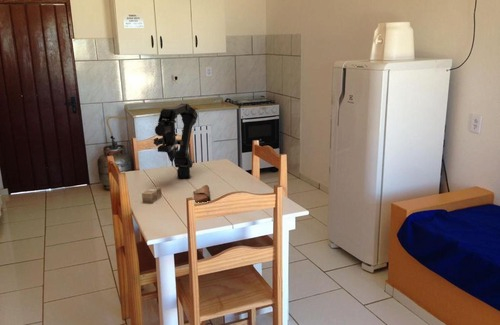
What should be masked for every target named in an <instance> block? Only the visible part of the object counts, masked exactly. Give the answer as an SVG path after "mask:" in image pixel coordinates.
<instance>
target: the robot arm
mask: <svg viewBox="0 0 500 325" xmlns="http://www.w3.org/2000/svg"><path fill="white" fill-rule="evenodd" d="M179 115H180V117H181V121H182V124H183V128H182V133H181V137H180V138H181V139H178V138H176V137H177V136H178V134H177V133H176V123H177V120H176V119H177V118H178V116H179ZM198 118H199V115H198V112H197V111H196V109H194V108H193V107H191V105H190V104H189V103H180V104H178V105H176V106H174V107H167V108H162V109H161V110H160V113H159V117H158V120H157V125H156V126H155V128H154V133H155V134H156V135H157V136H158V137H160V138H158V137H156V138H153V145H155V146H156V147H157V152H160V153H166V154H167V157H168V159H169V161H170V162H173V163H174V167H175V168H177V170H176V174H177V179H179V180H182V179H183V180H185V179H187V180H188V179H191V168H193V164H194V163H193V161H192V160H191V155H190V152H189V148H190V141H191V135H192V131H193V126H194V125H195V124H196V123H197V120H198ZM176 145H179V147H177V146H176Z"/></svg>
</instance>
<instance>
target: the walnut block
mask: <svg viewBox="0 0 500 325" xmlns="http://www.w3.org/2000/svg"><path fill="white" fill-rule="evenodd" d="M161 198H162V187H158V186H157V187H156V186H151V187H149V188H148V189H147V190H145V191H143V192H142V193H141V199H142V203H143V204H151V205H152V204H154V203H155V202H157V201H158V200H160V199H161Z"/></svg>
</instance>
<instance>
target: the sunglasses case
mask: <svg viewBox="0 0 500 325" xmlns="http://www.w3.org/2000/svg"><path fill="white" fill-rule="evenodd" d="M193 200H195V202H196V203H195V204H202V202H207V201H210V202H211V191H210V186H208V184H205V185H203V186H201V187H200V188H198V189H195V190H194V191H193ZM198 202H199V203H198Z"/></svg>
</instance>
